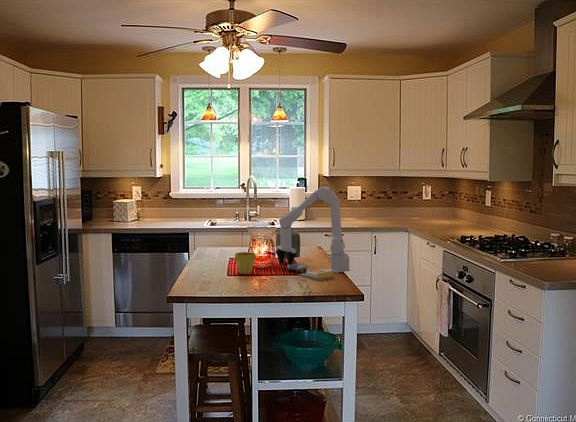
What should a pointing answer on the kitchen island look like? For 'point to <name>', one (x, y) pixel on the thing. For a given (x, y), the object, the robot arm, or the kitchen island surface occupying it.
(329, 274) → the loading dock
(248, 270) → the plant pot
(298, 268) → the trolley
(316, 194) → the robot arm
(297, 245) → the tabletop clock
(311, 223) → the kitchen island surface
